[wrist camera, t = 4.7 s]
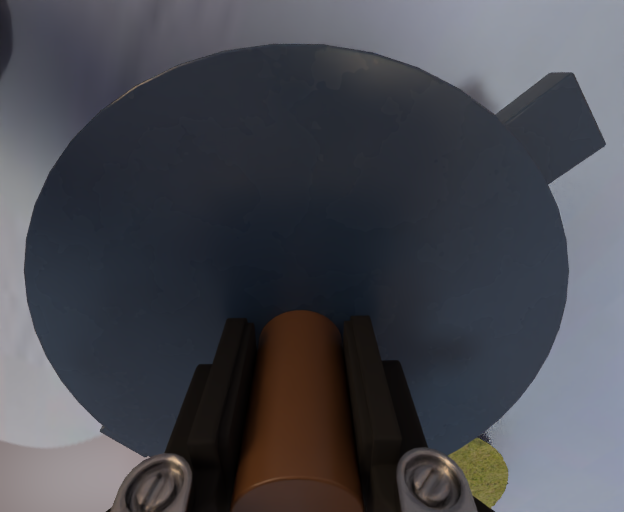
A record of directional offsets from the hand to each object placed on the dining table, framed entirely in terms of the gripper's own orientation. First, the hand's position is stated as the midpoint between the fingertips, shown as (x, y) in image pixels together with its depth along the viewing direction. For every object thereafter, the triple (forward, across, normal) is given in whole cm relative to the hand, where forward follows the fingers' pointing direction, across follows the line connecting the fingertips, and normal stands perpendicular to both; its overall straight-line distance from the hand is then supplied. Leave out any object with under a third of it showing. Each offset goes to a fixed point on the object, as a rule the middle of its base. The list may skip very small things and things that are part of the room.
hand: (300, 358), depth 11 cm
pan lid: (+1, 0, 0) cm, 1 cm away
